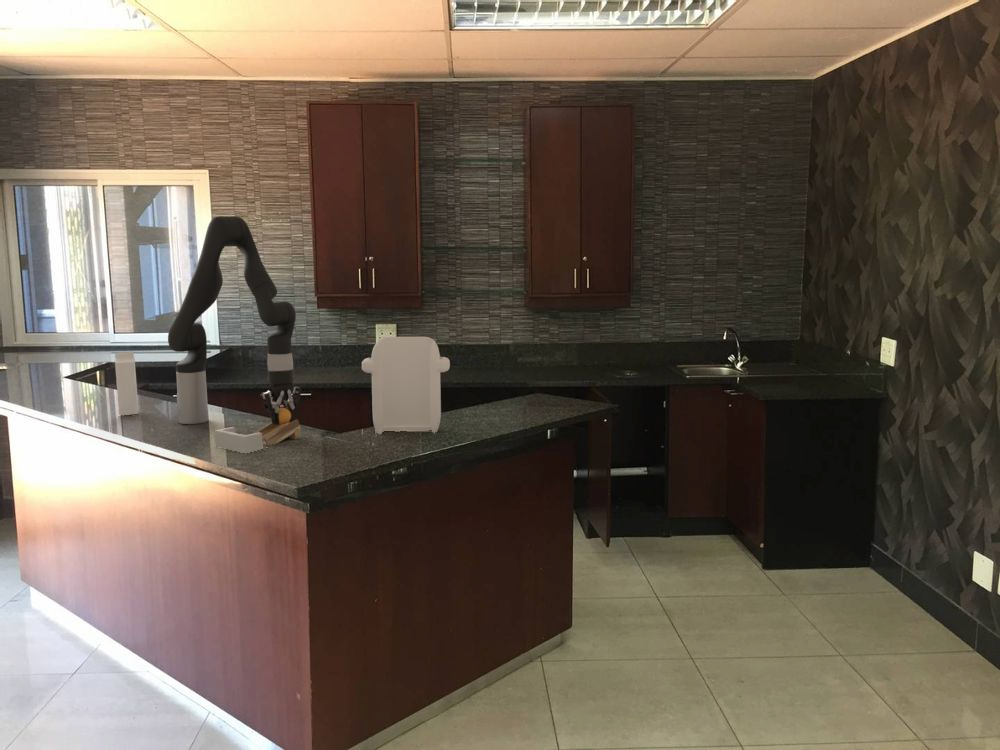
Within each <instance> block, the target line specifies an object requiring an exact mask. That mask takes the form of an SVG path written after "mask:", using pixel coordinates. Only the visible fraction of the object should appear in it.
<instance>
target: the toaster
mask: <svg viewBox="0 0 1000 750" xmlns="http://www.w3.org/2000/svg"><path fill="white" fill-rule="evenodd" d="M439 350H440V349H439V346H438V344H437V343H436V341H435V340H434V339H433V338H431V337H428V336H385V337H382V338H380V339H378V341H377V342H376V343H375V344H374V346H373V348H372V351H371V357H367V358H364V359H363V360H362V361H361V370H362V372H364V373H367V374H371V396H372V397H371V398H372V399H371V400H372V401H371V405H372V408H371V409H372V423H373V427H374V429H375V431H376V433H377V434H378V435H382V433H383V432H384V431H395V432H397V433H398V432H399V433H401V432H400V431H407V432H430V431H429V430H432V431H431V432H432V434H433V433H434V434H436V433H437V432H438V430H439V427H440V423H441V418H442V417H441V416H442V400H441V399H442V398H441V397H442V395H441V392H442V391H441V388H442V387H441V373H445V372H447V371H449V370H450V367H451V366H450V365H451V363H450V362H451V361H450V359H449V358H448V357H446V356H441V354H440V351H439ZM395 432H394V433H395ZM435 432H436V433H435ZM384 433H385V432H384Z"/></svg>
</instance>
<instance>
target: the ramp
mask: <svg viewBox="0 0 1000 750" xmlns="http://www.w3.org/2000/svg"><path fill="white" fill-rule="evenodd" d="M301 429H302V428H301V425H300V421H299V419H297V418H294V419H293V421H292V422H288V423H286V424H278V425H274V424H273V423H272V421H271V422H268V423H267V424H265V425H264V426H262V427H260V428H259V429H258V430H256V431H254V432H253V433H258V432H260V433H262V443H266V445H265V446H267V445H270V446H272V445H271V444H274V445H277V444H279V443H281V442H282V441H284V440H285V439H287V438H288V439H293V440H297V438H298V439H301ZM276 443H277V444H276Z"/></svg>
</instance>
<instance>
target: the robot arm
mask: <svg viewBox="0 0 1000 750" xmlns="http://www.w3.org/2000/svg"><path fill="white" fill-rule="evenodd" d="M204 236H205V237H204V240H203V245H202V249H201V252H200V254H199V259H198V262H197V265H196V268H195V270H194V272H193V275H192V277H191V279H190V282H189V285H188V288H187V291H186V293H185V296H184V298H183V301H182V303H181V306H180V308H179V310H178V312H177V314H176V316H175V318H174V320H173V321H172V324H171V326H170V328H169V331H168V335H167V343H168V346H169V348H170V350H172V351H174V352H178V353H180V352H183V353H184V352H187V353H186V356H185V357H184V358H182V359H181V360H180V361H178V362H177V363H176V364H175V374H176V390H177V393H176V409H177V421H178V422H179V423H180V424H181V425H183V424H184V425H185V424H186V425H195V424H202V423H203V424H204V423H206V422H209V410H208V409H209V406H208V392H207V390H208V389H207V376H206V375H207V374H206V364H207V359H208V357H207V355H208V354H207V353H208V351H207V350H208V349H207V341H208V339H207V333H206V329H205V327H204V326H203V325H202V323H200V322H196V321H197V320H198V319H199V317H201V316H202V315H203V314H204V313H205V312H206V311H207V310H208V309H209V308H211V307H212V306H213V304H214V303H215V302H216V300H217V299H218V297H219V294H220V293H221V290H222V286H223V282H224V281H223V280H224V279H223V275H222V270H221V267H220V262H219V261H220V257H221V254H222V252H223V250H224V248H225V247H226V248H227V247H231V248H232V247H235V248H237V249H238V250H239V252H240V254H242V257H243V261H244V262H243V263H244V264H243V266H244V267H243V276H244V280H245V283H246V285H247V286H248V288H249V290H250V292H251V294H252V295H253V297H254V300H255V304H256V307H257V312H258V316H259V318H260V320H261V322H263V324H265V325H266V326H268V327H276V329H275V331H274V332H273V333H271V334H269V335H268V336H267V343H266V345H267V359H266V361H267V364H266V365H267V381H268V386H269V388H268V390H267V391H265V392H261V393H260V397H261V401H262V404H263V408H264V411H265V412H269V413H270V418H271V419H270V421H271V422H272V423H273V424H274V425H278V424H279V413H277V412H278V409H280V406H281V405H282V402H283V403H284V405H285V406H286V407H285V408H286V409H288V410H289V411H290V413H291V419H290V421H289V422H288V423H291V422H292V421H294V420H295V408H296V407H299V406H300V402H301V396H302V395H301V394H302V387H299V386H294V385H293V383H294V380H295V379H294V378H295V377H294V376H295V375H294V360H293V353H292V352H293V351H292V337H293V332H294V330H295V325H296V323H295V322H296V320H297V319H296V318H297V316H296V309H295V308H294V306H293V304H292V303H290V302H289V301H275V302H274V301H273V299H274V298H276V296H277V294H278V289H277V287H276V284H275V283H274V282H273V280H272V277H271V276H270V274H269V272H268V271H267V269H266V268H265V266H264V264H263V261H262V259H261V256H260V254H259V250H258V247H257V244H256V242H255V240H254V238H253V235H252V232H251V229H250V228H249V226H248V223H247V222H246V221H245V219H244V218H242V217H240V216H234V215H233V216H232V215H231V216H229V215H228V216H225V215H219V216H214V217H213V218H212V219H211V220H210V222H209V224H208V226H207V228H206V233H205V235H204Z"/></svg>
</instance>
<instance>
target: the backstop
mask: <svg viewBox="0 0 1000 750" xmlns="http://www.w3.org/2000/svg"><path fill="white" fill-rule="evenodd" d="M214 437H215V439H214V440H215V448H217V447H221V448H220V449H222V448H225V449H224V450H226V449H229V450H228V451H230V450H232V452H235V451H237V452H236V453H239V452H240V453H239V454H243V453H245V454H244V455H247V454H246V453H248V454H251V453H250V452H252V453H254V451H256V452H258V451H257V450H260V451H262V450H261V449H263V447H264V446H263V444H262V433H260V432H258V433H254V432H253V433H249V434H241V433H237V431H236V427H235V426H230V427H225V428H221V429H216V430H214ZM263 450H264V449H263Z"/></svg>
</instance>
